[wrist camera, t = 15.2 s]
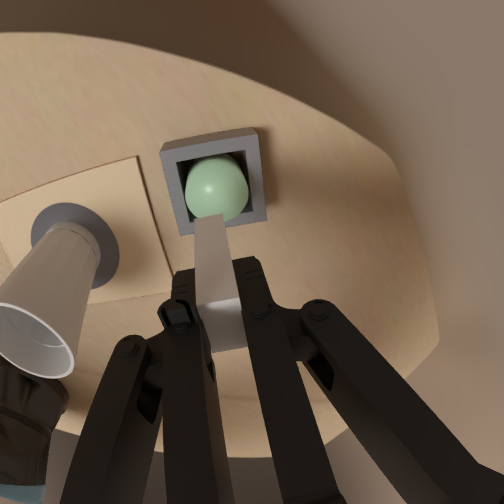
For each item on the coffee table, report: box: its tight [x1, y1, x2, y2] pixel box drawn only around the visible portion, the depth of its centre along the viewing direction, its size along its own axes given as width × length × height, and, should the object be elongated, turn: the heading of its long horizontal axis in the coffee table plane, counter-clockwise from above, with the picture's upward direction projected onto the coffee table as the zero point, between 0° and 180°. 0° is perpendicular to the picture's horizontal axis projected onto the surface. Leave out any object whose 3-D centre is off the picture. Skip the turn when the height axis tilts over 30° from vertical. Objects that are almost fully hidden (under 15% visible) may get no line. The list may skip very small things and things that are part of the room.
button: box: [185, 153, 248, 222], centre depth 22 cm, size 4×4×4 cm
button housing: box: [159, 127, 267, 236], centre depth 23 cm, size 7×7×3 cm
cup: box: [0, 221, 101, 379], centre depth 20 cm, size 8×8×12 cm
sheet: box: [0, 156, 173, 305], centre depth 25 cm, size 18×14×1 cm
